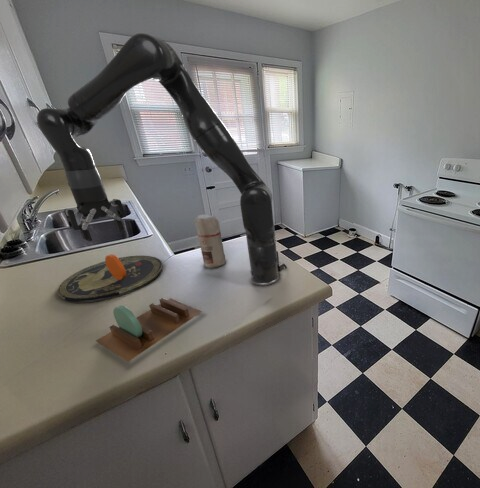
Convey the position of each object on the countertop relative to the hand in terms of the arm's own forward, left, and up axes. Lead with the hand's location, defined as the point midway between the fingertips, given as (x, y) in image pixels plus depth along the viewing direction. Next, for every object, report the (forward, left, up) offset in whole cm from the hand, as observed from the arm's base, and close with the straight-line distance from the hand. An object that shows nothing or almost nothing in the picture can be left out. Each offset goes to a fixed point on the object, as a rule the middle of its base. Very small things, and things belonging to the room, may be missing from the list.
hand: (105, 235), depth 86 cm
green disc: (+14, +32, -16) cm, 39 cm away
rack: (+9, +32, -18) cm, 38 cm away
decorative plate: (-1, -6, -18) cm, 19 cm away
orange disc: (0, 0, -16) cm, 16 cm away
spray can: (-25, +17, -18) cm, 35 cm away
